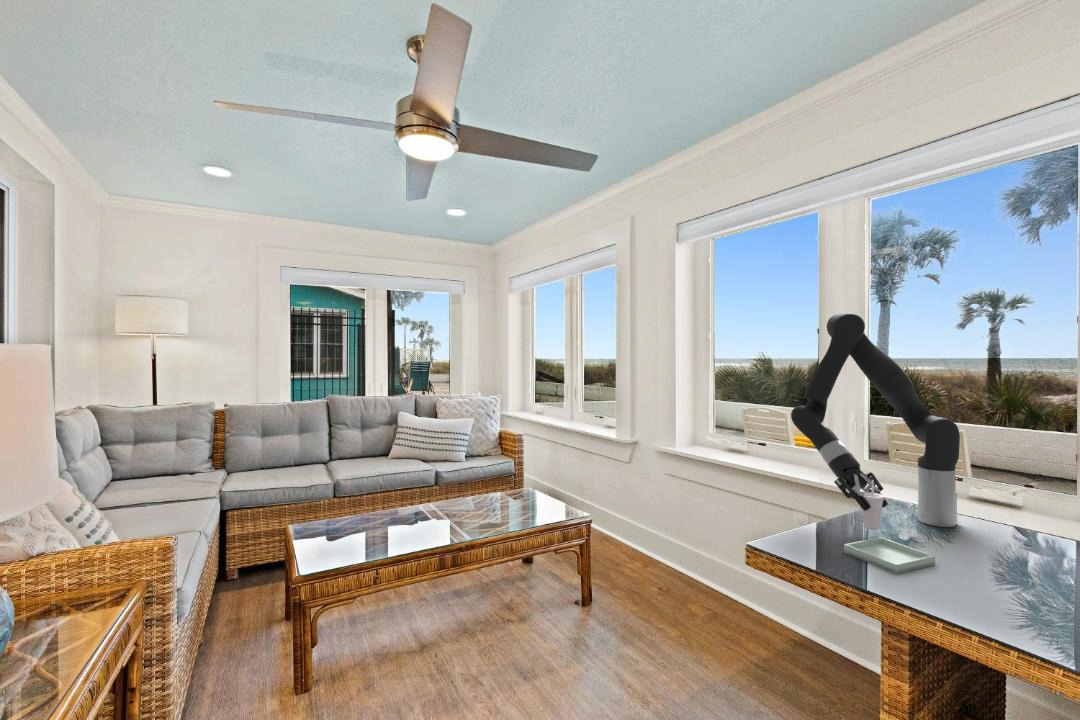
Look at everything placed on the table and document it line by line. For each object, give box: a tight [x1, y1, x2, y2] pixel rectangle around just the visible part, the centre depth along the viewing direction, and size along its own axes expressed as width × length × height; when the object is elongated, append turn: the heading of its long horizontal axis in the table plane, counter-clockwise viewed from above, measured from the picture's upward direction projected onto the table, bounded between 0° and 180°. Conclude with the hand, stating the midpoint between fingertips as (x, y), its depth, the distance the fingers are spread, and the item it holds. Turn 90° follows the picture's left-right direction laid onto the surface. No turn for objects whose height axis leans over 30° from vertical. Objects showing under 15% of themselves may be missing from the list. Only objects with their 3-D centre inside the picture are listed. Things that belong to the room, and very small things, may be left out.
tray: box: [843, 536, 936, 575], centre depth 129 cm, size 14×14×2 cm
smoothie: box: [860, 480, 885, 531], centre depth 144 cm, size 6×6×14 cm
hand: (876, 507), depth 142 cm, fingers closed on smoothie, 6 cm apart
